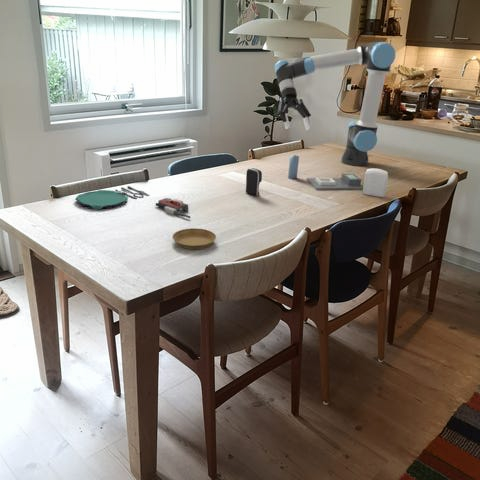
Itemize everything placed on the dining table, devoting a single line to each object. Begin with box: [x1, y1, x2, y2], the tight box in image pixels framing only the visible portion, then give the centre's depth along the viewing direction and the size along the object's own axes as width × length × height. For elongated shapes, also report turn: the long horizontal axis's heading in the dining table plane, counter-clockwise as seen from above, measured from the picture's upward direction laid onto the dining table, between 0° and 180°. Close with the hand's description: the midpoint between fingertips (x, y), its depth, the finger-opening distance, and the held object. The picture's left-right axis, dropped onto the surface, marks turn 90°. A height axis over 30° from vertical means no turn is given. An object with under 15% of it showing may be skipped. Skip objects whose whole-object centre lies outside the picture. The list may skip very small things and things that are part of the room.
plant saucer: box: [172, 227, 217, 250], centre depth 169 cm, size 15×15×3 cm
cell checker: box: [306, 173, 364, 191], centre depth 240 cm, size 24×16×4 cm, turn 100°
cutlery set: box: [75, 185, 150, 211], centre depth 206 cm, size 20×30×2 cm, turn 139°
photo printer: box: [362, 167, 389, 198], centre depth 226 cm, size 10×4×12 cm, turn 63°
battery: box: [245, 167, 263, 197], centre depth 219 cm, size 7×4×11 cm, turn 42°
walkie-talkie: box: [155, 197, 191, 219], centre depth 196 cm, size 9×4×20 cm
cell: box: [287, 154, 300, 180], centre depth 246 cm, size 4×4×12 cm
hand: (298, 128), depth 246 cm, fingers open, 13 cm apart
